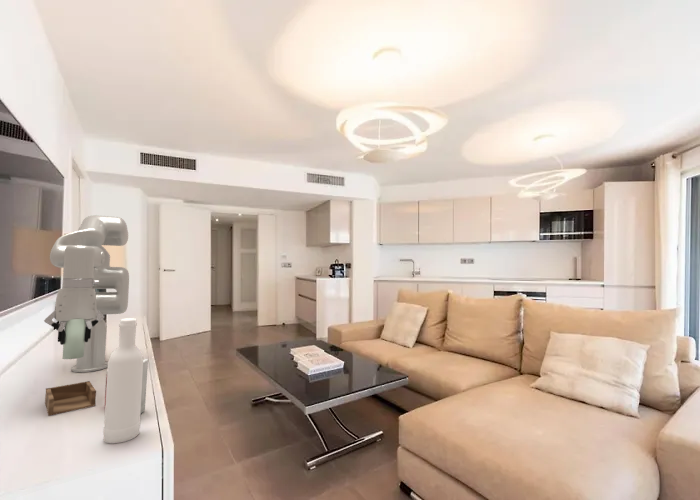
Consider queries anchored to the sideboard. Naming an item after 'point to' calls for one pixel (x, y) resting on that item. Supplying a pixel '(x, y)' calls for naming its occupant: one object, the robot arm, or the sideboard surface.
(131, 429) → the bottle
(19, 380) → the sideboard surface
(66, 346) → the bottle
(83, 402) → the u rest
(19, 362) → the sideboard surface
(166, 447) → the sideboard surface
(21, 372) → the sideboard surface
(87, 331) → the robot arm
